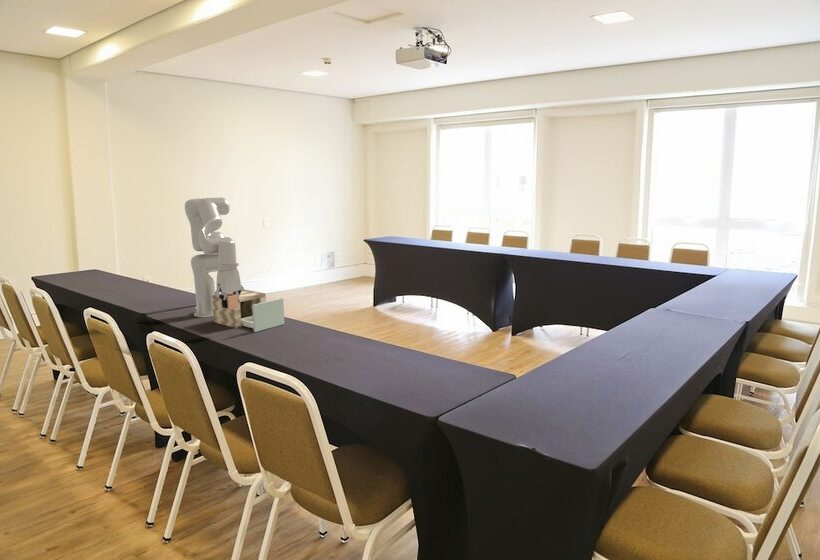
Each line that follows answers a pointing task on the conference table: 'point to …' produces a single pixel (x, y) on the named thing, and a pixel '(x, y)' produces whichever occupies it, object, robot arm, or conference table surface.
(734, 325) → the conference table surface
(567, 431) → the conference table surface
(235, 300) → the block
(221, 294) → the robot arm
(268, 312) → the mint green drawer
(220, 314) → the beige brown striped box
